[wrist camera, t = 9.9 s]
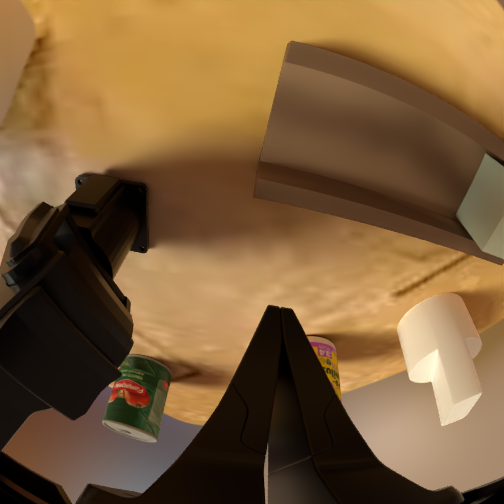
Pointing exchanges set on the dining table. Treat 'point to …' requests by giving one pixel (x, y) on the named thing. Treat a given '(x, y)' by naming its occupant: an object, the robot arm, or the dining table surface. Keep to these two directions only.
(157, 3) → the dining table surface
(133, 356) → the canned tomato
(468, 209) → the block
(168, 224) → the dining table surface
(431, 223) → the chute
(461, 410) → the cylinder with rectangular tab
